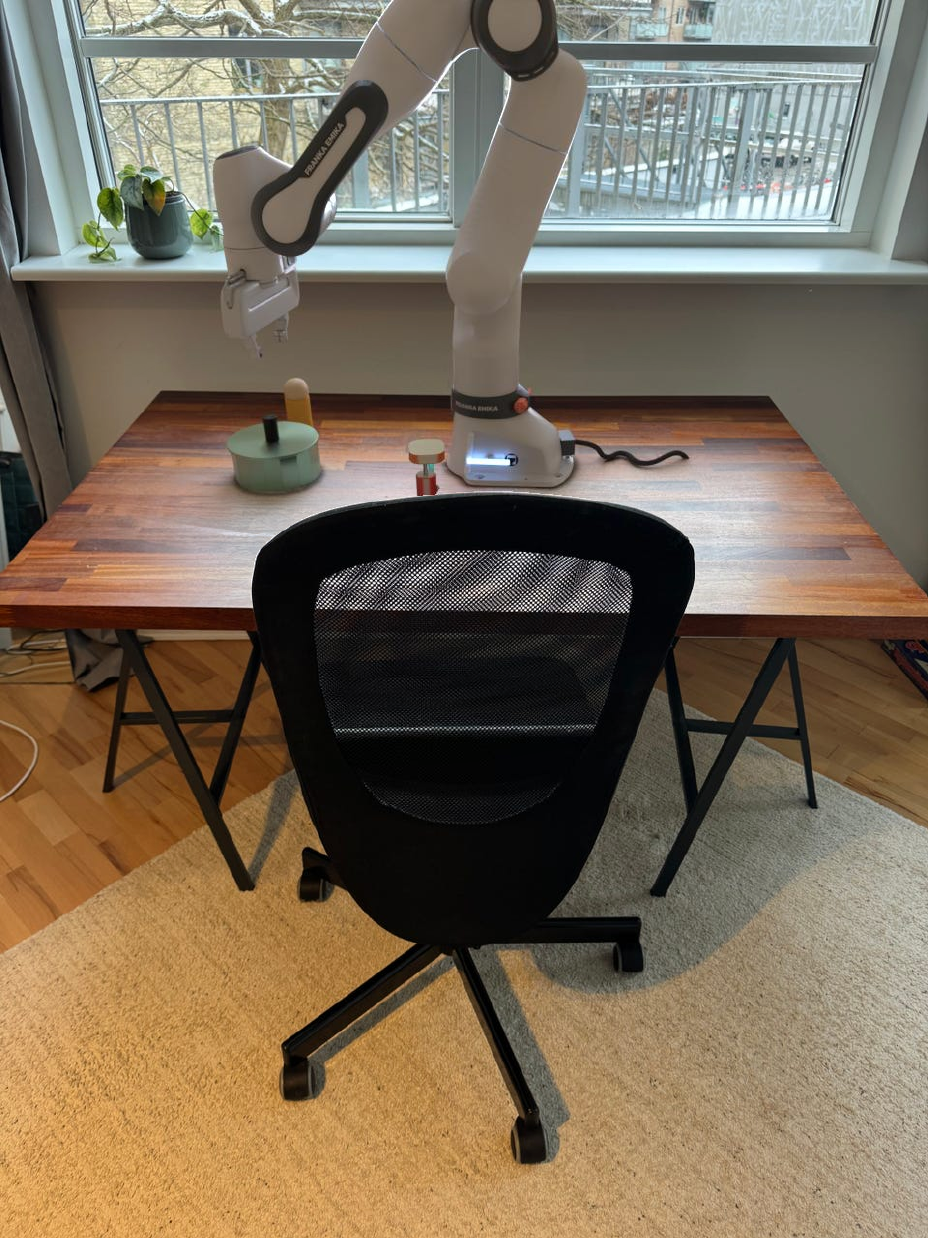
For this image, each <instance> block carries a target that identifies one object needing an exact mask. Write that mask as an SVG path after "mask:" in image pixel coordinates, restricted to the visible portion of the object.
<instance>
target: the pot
mask: <svg viewBox="0 0 928 1238" xmlns="http://www.w3.org/2000/svg"><path fill="white" fill-rule="evenodd" d="M319 449H320V448H319V441H318V442H317V444H316V445H315V446H314V447H313V448H311V449H310V450H308V451H306V452H304V453H302V454H299V455H296V456H293V457H289V458H284V459H278V460H264V461H261V460H249V459H243V458H240V457H237V456H235V455H233V454H231V453H230V455H231V460H232V467H233V471H234V477H235V480H236V482H237V483H238V485H239V486H240V487H242V488H245V489H248V490H250V491H252V492H262V493H277V492H286V491H290V490H291V491H292V490H295V489H300V488H303V487H306V486H308V485H309V484H311V483H313V482H315V481H316V480H317V479H318V478H319V477H320V475H321V469H322V465H321V457H320V450H319Z"/></svg>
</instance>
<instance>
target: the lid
mask: <svg viewBox="0 0 928 1238" xmlns="http://www.w3.org/2000/svg"><path fill="white" fill-rule="evenodd" d="M261 419H262V423H257V424H252V425H249V426H246V427H243V428H241V429H239V430H237V431H234V433H232V434H231V435H230V436H229V437H228V438H227V440H226V449H227V451H228V452H229V453H230V455H231V454H233V455H235V456H237V457H240V458H243V459H249V460H261V461H264V460H278V459H284V458H289V457H293V456H296V455H299V454H302V453H304V452H306V451H308V450H310V449H311V448H313V447H314V446H315V445H316V444H317V442H318V443H319V439H320V435H319V432H318V430H317V429H315V428H314V426H313V427H311V426H309V425H306V424H302V423H297V422H288V420H287V421H284V420H283V421H278V416H277V414H274V413H268V414H264V415H263V416H262V417H261Z"/></svg>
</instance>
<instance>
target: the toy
mask: <svg viewBox="0 0 928 1238" xmlns="http://www.w3.org/2000/svg"><path fill="white" fill-rule="evenodd" d="M309 390H310V389H309V386H308V384H307V383H306V381H304V380H303V379H301V378H299V377H293V378H289V379H288V380H287V381H286V382H285V384H284V386H283V394H284V402H285V411H286V418H287V422H297V423H302V424H306V425H309V426H311V427H313V428H314V422H313V414H312V406H311V398H310V397H311V396H310V394H309V393H310V391H309Z"/></svg>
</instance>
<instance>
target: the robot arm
mask: <svg viewBox="0 0 928 1238" xmlns="http://www.w3.org/2000/svg"><path fill="white" fill-rule="evenodd" d="M557 17H558V16H557V9H556V4H555V1H554V0H391V1H390V2H389V4H387V6H386V8H385V9H384V10H383V12H382V13H381V15H380V16H379V18H378V19H376V20H377V21H376V22H375V23H374V25H373V26H372V28H371V29H370V31H369V33H368V34H367V36H366V38H365V39H364V42H363V43H362V45H361V47H360V49H359V51H358V53H357V55H356V57H355V58H354V59H355V60H354V61H353V63H352V66H351V68H350V70H349V73H348V74H347V77H346V79H345V82H344V84H343V86H342V88H341V90H340V92H339V95H338V97H337V99H336V101H335V103H334V106H333V107H332V109H331V111H330V113H329V114H328V116H327V117H326V119H325V120H324V122H323V123H322V125H321V126H320V127H319V129H318V131H316V133H315V135H314V136H313V137H312V138H311V141H310V142H309V143H308V144H307V146H306V148H305V149H304V151H303V152H302V153H301V154H300V156H299V158H298V159H297V160H296V162H295V163H294V164H291V163H288V162H285V161H283V160H281V159H279V158H277V157H274V156H273V155H272V154H270V153H268V152H267V151H266V150H265V149H264V148H262V147H261V146H259V145H246V146H241V147H238V148H235V149H231V150H228V151H225V152H223V153H221V154H220V155H218V156H217V157H216V158H215V160H214V162H213V165H212V185H213V194H214V202H215V208H216V214H217V217H218V219H219V222H220V224H221V228H222V246H223V252H224V258H225V263H226V269H227V274H228V275H227V276H226V277H225V282H224V285H223V286H222V289H221V292H220V310H221V311H220V312H221V319H222V326H223V327H222V328H223V331H224V333H225V335H226V336H227V338H229V339H237V340H240V341H241V343H242V344H243V346H244V347H245V349H246V350H247V355H248V359H250V361H258V360H260V359H261V358H263V349H262V346H259V345H258V343H257V341H256V339H257V338H258V336H257V333H258V332H259V331H261V330H262V329H264V328H265V327H267V326H269V325H270V324H271V323H273V322H274V321H275V330H274V331H273V336H274V341H275V342H276V343H285V342H286V341H287V340H289V333H288V326H289V321H290V314H289V312H291V311H292V310H294V309H295V308H298V306H299V303H300V285H299V278H298V277H299V276H298V270H297V268H296V266H295V264H297V260H298V258H297V257H299V256H302V255H304V254H306V253H308V252H309V251H310V250H311V249H312V248H313V247H314V245H316V243H317V241H318V239H319V238H320V237H321V236H322V235H323V234H324V233H325V232H326V231H327V230H328V228H329V227H330V226H331V224H332V223H333V221H334V220H335V218H336V216H337V215H336V214H337V210H338V199H337V195H336V191H337V189H338V188H339V187H340V185H341V184H342V183H343V181H344V180H345V179H346V177H347V176H348V174H349V173H350V171H352V168H353V167H354V166H355V165H356V163H357V162H358V160H359V159H360V158H361V157H362V156H363V154H364V153H365V152H366V151H367V150H368V149H369V148H370V147H371V146H372V145H373V144H374V143H375V142H377V141H378V140H379V139H380V138H382V137H383V136H384V135H386V134H387V133H389V132H390V131H391V130H393V129H395V128H396V127H398V126H399V125H400V124H402V123H403V122H404V121H405V120H407V119H408V118H409V117H410V116H411V115H413V113H415V112H416V111H417V109H418V108H420V106H422V104H424V102H425V101H426V100H427V99H429V97H430V96H431V94H432V93H433V91H434V90H435V89H436V88H437V87H438V85H439V84H440V82H441V81H442V79H443V78H444V76H445V75H446V74H447V72H448V71H449V69H451V67H452V65H453V64H454V63H455V62H456V61H457V59H459V57H460V56H462V55H463V54H465V53H466V52H468V51H470V50H481V51H482V52H484V54H485V55H486V56H487V57H488V58H489V59H490V60H491V61H492V62H493V63H494V64H495V65H497V66H498V67H499V68H500V69H501V70H502V71H503V72H504V73H506V75H507V76H509V85H508V91H507V96H506V100H505V103H504V105H503V109H502V111H501V114H500V115H499V116H500V117H499V119H498V122H497V124H496V128H495V130H494V134H493V136H492V139H491V143H490V145H489V148H488V151H487V154H486V156H485V158H484V159H485V160H484V163H483V165H482V168H481V170H480V174H479V176H478V180H477V182H476V184H475V187H474V190H473V192H472V195H471V197H470V200H469V203H468V206H467V208H466V211H465V213H464V216H463V219H462V221H461V223H460V227H459V230H458V232H457V235H456V238H455V241H454V243H453V246H452V249H451V250H450V251H451V252H450V254H449V258H448V260H447V263H446V267H445V285H446V289H447V292H448V296H449V298H450V300H451V301H452V303H453V304H454V310H453V313H454V314H453V326H452V327H453V328H452V339H451V340H452V370H453V371H452V373H453V375H452V376H453V384H452V386H451V388H450V389H451V392H450V410H451V417H452V419H453V422H452V423H453V424H452V433H451V442H450V448H449V452H448V456H447V459H446V466H447V468H448V469H449V470H450V471H451V472H452V473H454V474H455V475H457V476H459V477H460V478H462V479H463V481H464V482H465V483H466V484H467V485H470V486H488V487H489V486H490V487H522V488H523V487H525V488H526V487H527V488H529V487H530V488H554V487H557V486H559V485H560V484H562V483H564V482H566V480H567V479H569V477H570V476H571V474H572V472H573V470H574V466H575V462H574V456H575V455H576V446H581V447H582V446H583V447H588V448H591V449H593V450H595V451H596V453H597V454H598V455H599V457H600V458H601V459H603V460H605V461H610V460H613V459H614V458H616V457H620V456H621V457H625V458H627V459H628V460H629V461H630V462H631V463H633V464H635V465H637V466H641V467H650V466H655V465H657V464H661V463H662V462H664V461H665V460H667V459H670V458H672V457H675V456H678V457H680V458H682V459H683V460H689V459H690V457H689V455H688V454H687V453H685V452H684V451H683V450H679V449H673V450H670V451H668V452H666V453H664V454H662V455H660V456H658V457H656V458H652V459H650V460H644V459H643V460H641V459H639V458H637V457H636V456H635V455H633V453H631V452H629V451H627V450H621V449H619V450H616V451H615V450H614V451H613V452H611V453H609V454H608V453H605V452H604V450H603V449H602V447H601V446H600V445H598V444H596V443H595V442H592V441H589V440H583V439H577V438H575V437H574V436H575V435H573V432H572V431H571V429H557V427H556V426H555V425H554V424H553V423H551V422H550V421H548V420H547V419H546V418H545V417H543V416H542V415H541V414H540V413H538V412H537V411H536V410H534V409H533V408H532V407H531V395H532V387H528V389H525V387H523V386H522V385H521V384H520V382H519V381H520V379H519V378H520V336H521V335H520V332H521V316H522V315H521V314H522V313H521V311H522V289H523V270H524V268H525V265H526V262H527V260H528V259H529V255H530V253H531V250H532V248H533V245H534V242H535V240H536V238H537V234H538V232H539V229H540V226H541V224H542V220H543V219H544V216H545V213H546V210H547V208H548V205H549V203H550V200H551V198H552V197H553V196H552V195H553V193H554V191H555V189H556V185H557V183H558V180H559V178H560V175H561V173H562V171H563V169H564V168H563V167H564V166H565V163H566V160H567V158H568V155H569V152H570V150H571V149H572V148H571V147H572V145H573V142H574V140H575V137H576V133H577V131H578V127H579V125H580V120H581V117H582V113H583V109H584V105H585V101H586V96H587V93H588V92H587V91H588V87H589V86H588V85H589V80H588V74H587V71H586V70H585V69H586V68H584V67H583V65H582V63H581V62H580V61H579V60H578V59H577V58H576V57H575V56H574V55H572V54H571V53H569V52H567V51H566V50H564V49H562V48H561V47H560V46H559V45H560V44H559V33H558V22H557V21H558V18H557Z"/></svg>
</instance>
